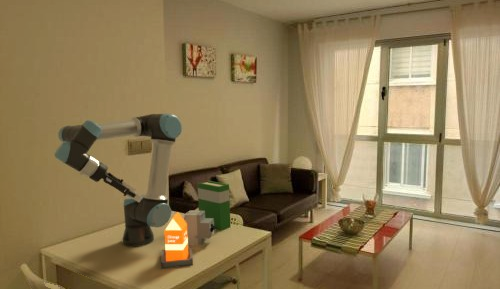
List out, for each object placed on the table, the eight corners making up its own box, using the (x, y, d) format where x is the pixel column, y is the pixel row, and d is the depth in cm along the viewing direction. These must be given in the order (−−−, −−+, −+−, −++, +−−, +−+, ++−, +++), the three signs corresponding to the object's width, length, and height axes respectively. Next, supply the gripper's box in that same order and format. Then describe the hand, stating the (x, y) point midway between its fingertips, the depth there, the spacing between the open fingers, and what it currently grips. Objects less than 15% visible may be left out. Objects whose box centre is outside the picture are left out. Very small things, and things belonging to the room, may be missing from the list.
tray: (162, 255, 166) (162, 250, 166) (191, 252, 168) (191, 247, 168) (161, 268, 152) (161, 262, 152) (192, 265, 155) (192, 259, 154)
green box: (199, 224, 208) (197, 182, 206) (209, 221, 214) (207, 180, 211) (220, 230, 197) (219, 186, 194) (230, 227, 202) (228, 184, 200)
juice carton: (165, 263, 155) (163, 218, 153) (171, 255, 164) (169, 211, 162) (184, 263, 155) (181, 217, 153) (188, 255, 164) (186, 211, 161)
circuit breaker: (213, 246, 175) (212, 215, 173) (185, 244, 178) (183, 214, 176) (217, 240, 182) (216, 211, 181) (190, 239, 185) (189, 210, 184)
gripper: (84, 171, 158) (126, 195, 168) (92, 183, 136) (138, 211, 146) (95, 157, 159) (135, 182, 169) (104, 167, 138) (149, 195, 148)
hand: (137, 195), depth 158 cm, fingers open, 13 cm apart
